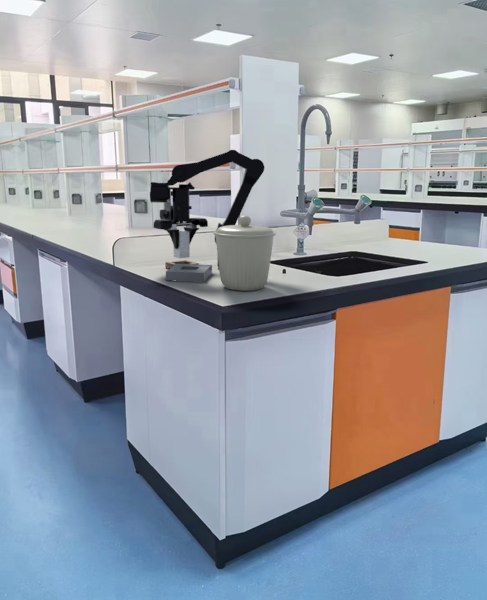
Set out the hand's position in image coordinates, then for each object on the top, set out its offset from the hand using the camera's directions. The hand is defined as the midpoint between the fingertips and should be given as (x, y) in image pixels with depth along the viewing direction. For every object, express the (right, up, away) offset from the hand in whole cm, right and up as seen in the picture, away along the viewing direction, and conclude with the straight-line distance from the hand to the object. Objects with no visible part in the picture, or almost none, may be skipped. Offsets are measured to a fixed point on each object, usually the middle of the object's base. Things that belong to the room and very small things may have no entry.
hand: (181, 248), depth 183 cm
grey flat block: (+4, -11, -13) cm, 18 cm away
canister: (+22, -14, -27) cm, 38 cm away
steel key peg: (0, -3, +1) cm, 3 cm away
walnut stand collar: (0, -7, +2) cm, 7 cm away
